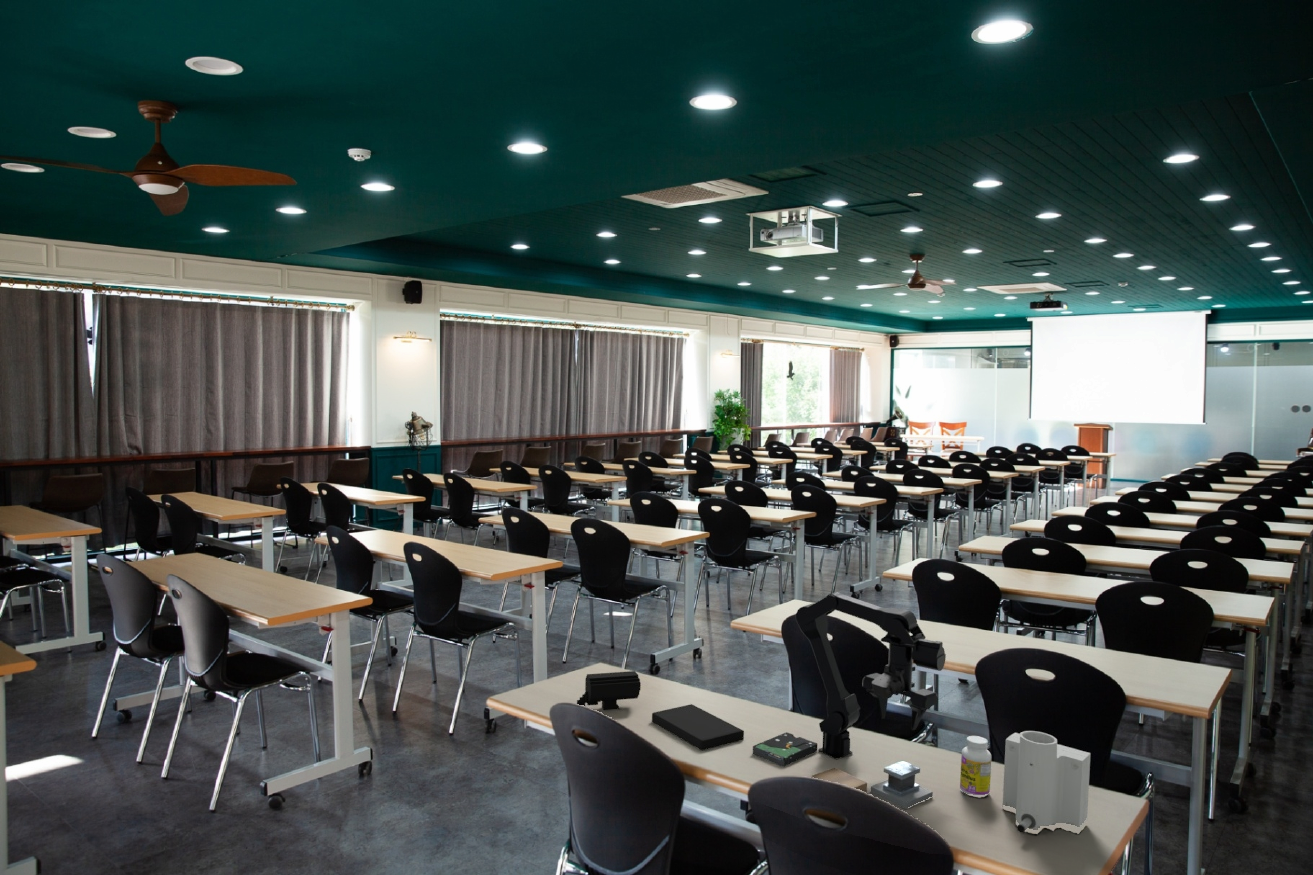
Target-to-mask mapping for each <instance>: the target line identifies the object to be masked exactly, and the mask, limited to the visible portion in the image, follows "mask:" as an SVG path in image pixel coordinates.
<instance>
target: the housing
mask: <svg viewBox="0 0 1313 875" xmlns="http://www.w3.org/2000/svg"><path fill="white" fill-rule="evenodd" d="M883 773H886V774H888V777H887V778H888V779H887V780H888V783H886V784H883V789H885V790H887V791H889V792H891V793H893V794H896V795H898V796H900V797H902V796H904V795H907V794H909V793H912V792H914V791H916V790H919V786H920V784H918V783H916V775H917V774H919V773H921V768H920V767H918V766H915V765H914V764H911V763H909V762H906V761H904V760H901V761H898V762H896V763H893V764H890V765H888V766H885V767H883Z"/></svg>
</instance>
